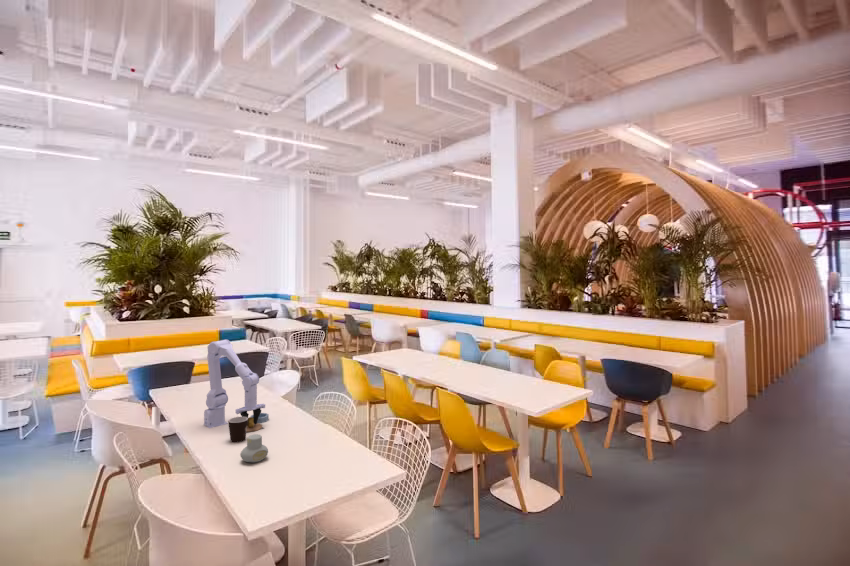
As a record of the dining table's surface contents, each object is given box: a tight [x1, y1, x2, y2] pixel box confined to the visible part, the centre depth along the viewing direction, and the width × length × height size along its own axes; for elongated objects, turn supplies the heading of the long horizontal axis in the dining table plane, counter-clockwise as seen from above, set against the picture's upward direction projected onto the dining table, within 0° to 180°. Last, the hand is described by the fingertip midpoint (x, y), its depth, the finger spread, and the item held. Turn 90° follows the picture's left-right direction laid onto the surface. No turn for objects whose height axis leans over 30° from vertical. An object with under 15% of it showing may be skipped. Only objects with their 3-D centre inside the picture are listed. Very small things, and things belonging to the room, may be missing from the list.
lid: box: [246, 416, 263, 433], centre depth 224 cm, size 11×11×5 cm
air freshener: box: [240, 433, 269, 464], centre depth 187 cm, size 11×8×10 cm
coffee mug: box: [227, 416, 249, 443], centre depth 210 cm, size 12×9×10 cm
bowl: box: [250, 412, 270, 424], centre depth 236 cm, size 9×9×3 cm
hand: (250, 424), depth 224 cm, fingers open, 4 cm apart
